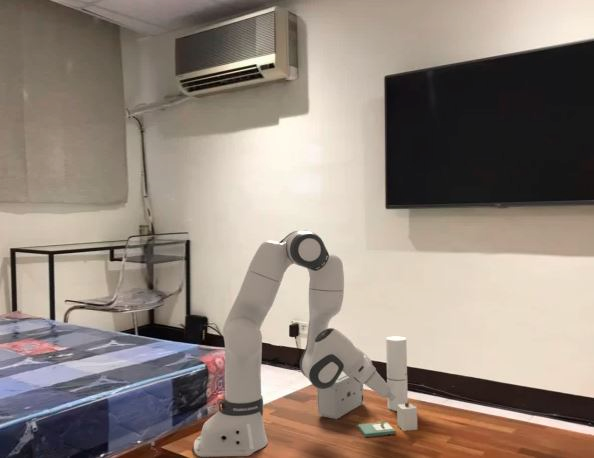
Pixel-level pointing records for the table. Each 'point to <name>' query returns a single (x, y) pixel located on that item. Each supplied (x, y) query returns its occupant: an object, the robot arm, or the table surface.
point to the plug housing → (407, 416)
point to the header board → (376, 429)
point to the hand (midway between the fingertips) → (388, 394)
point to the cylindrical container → (397, 370)
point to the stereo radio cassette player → (340, 397)
